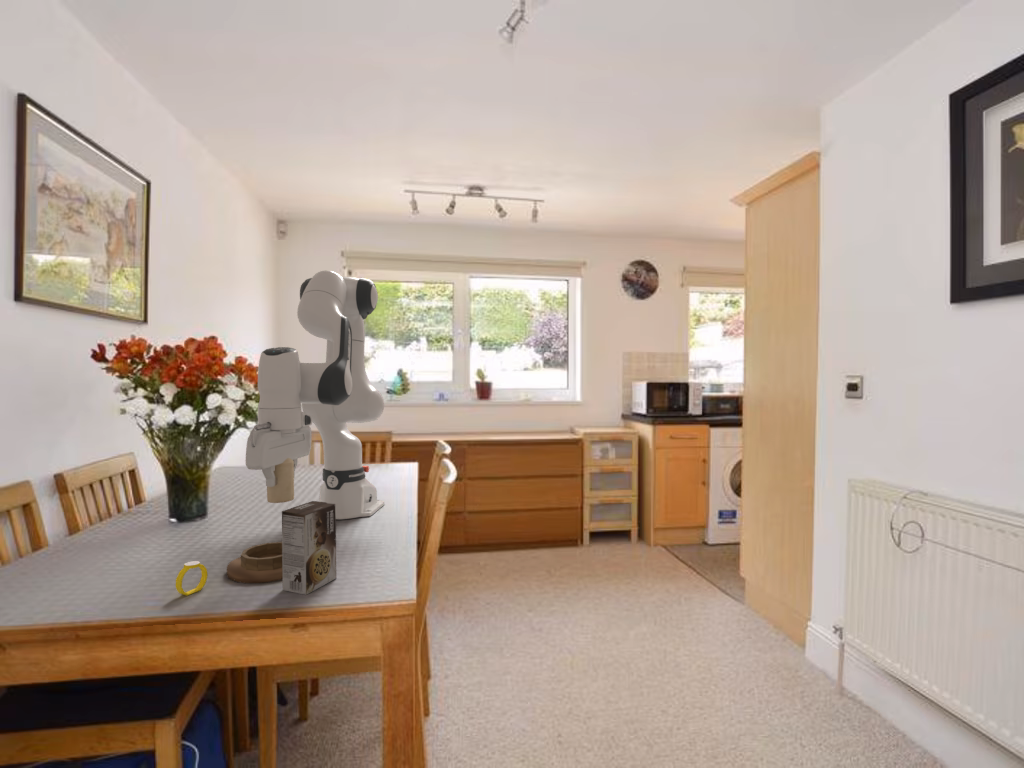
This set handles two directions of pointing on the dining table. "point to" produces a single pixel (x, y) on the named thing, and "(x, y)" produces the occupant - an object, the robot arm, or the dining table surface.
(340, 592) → the dining table surface
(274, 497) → the candle
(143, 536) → the dining table surface
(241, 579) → the candle plate
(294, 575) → the coffee box
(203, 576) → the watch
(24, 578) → the dining table surface
